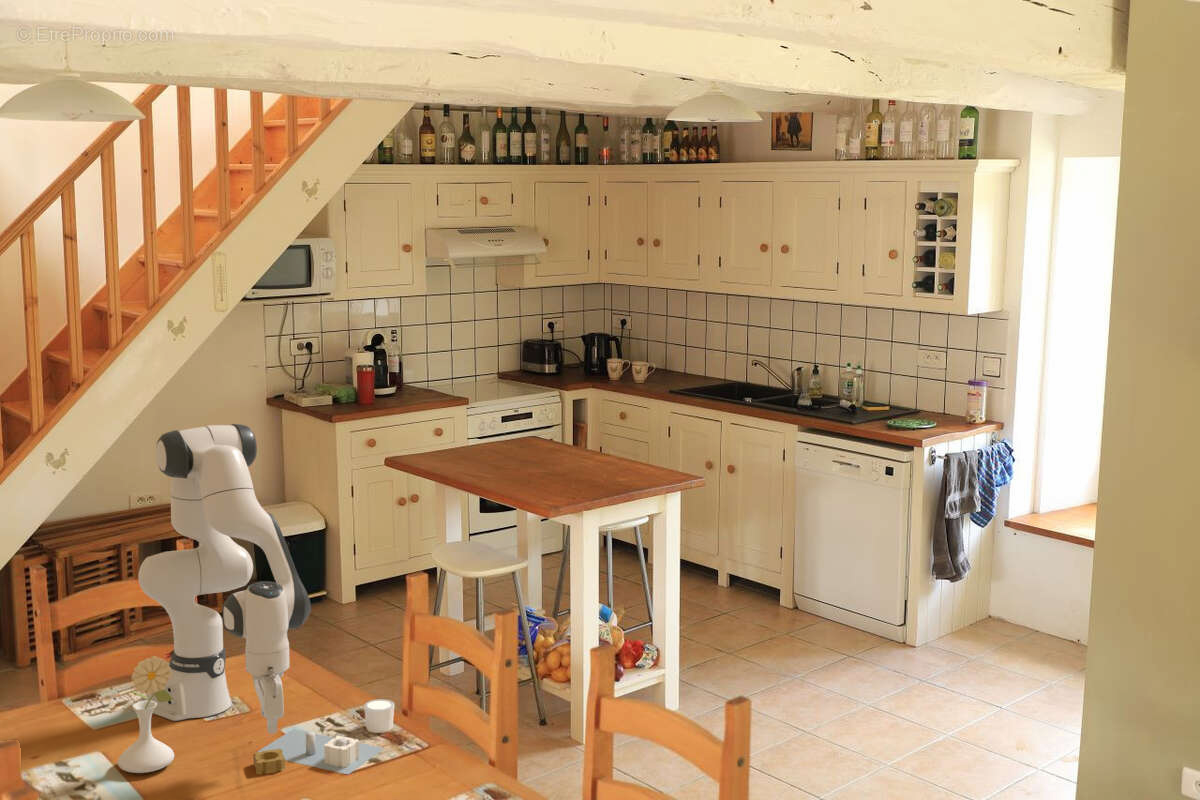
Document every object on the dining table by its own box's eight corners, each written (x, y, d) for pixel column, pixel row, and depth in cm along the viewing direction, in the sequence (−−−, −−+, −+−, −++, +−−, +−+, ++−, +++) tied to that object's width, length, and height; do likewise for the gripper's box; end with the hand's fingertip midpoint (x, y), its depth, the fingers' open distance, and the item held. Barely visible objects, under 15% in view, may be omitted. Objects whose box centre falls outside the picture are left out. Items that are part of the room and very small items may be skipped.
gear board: (254, 759, 259) (254, 733, 258) (294, 735, 272) (293, 710, 271) (348, 781, 250) (348, 754, 249) (384, 754, 263) (384, 728, 262)
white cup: (388, 741, 270) (387, 711, 269) (359, 738, 271) (359, 708, 270) (399, 729, 277) (399, 700, 276) (371, 726, 278) (371, 697, 277)
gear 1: (244, 777, 251) (244, 759, 250) (266, 763, 257) (266, 746, 257) (272, 784, 248) (272, 765, 248) (294, 769, 255) (293, 752, 254)
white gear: (327, 770, 252) (327, 752, 251) (321, 756, 258) (321, 738, 258) (361, 764, 255) (361, 747, 254) (355, 751, 261) (355, 733, 261)
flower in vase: (105, 772, 252) (101, 659, 248) (143, 751, 262) (139, 642, 259) (156, 783, 247) (152, 668, 244) (192, 761, 258) (189, 650, 254)
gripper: (290, 675, 241) (291, 740, 243) (276, 643, 259) (277, 704, 261) (258, 679, 238) (259, 745, 240) (246, 647, 257) (247, 708, 259)
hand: (269, 723), depth 251 cm, fingers open, 8 cm apart
